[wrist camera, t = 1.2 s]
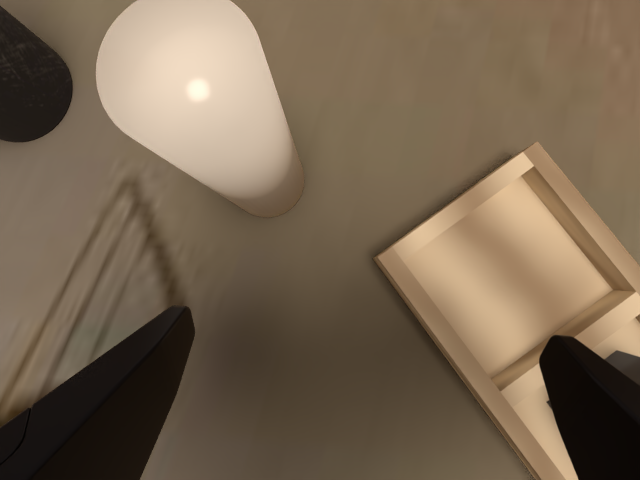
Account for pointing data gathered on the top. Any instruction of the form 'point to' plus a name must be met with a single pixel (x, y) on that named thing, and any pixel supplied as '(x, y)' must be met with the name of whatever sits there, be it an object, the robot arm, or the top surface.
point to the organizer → (519, 294)
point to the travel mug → (29, 83)
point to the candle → (202, 99)
